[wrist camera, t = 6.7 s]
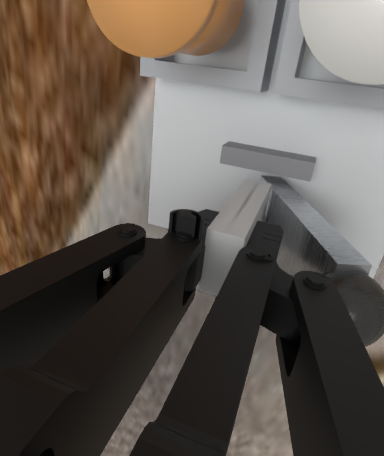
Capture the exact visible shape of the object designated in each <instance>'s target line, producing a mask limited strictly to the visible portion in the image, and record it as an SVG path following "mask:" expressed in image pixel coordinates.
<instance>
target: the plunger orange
mask: <svg viewBox="0 0 384 456" xmlns="http://www.w3.org/2000/svg"><path fill="white" fill-rule="evenodd" d="M244 1H245V0H87V2H88V5H89V8H90V10H91V13H92V15H93V17H94V19H95V21H96V23H97V25H98V26H99V28H100V29H101V31H102V32H103V33H104V35H105V36H106V37H107V38H108V39H109V40H110V41H111V42H112V43H113V44H114V45H116V46H117V47H118V48H120V49H121V50H123V51H125V52H127V53H129V54H132V55H135V56H140V57H147V58H164V57H169V56H172V55H175V54H177V53H182V54H187V55H193V56H202V55H207V54H211V53H213V52H215V51H217V50H219V49H220V48H221V47H223V46H224V45H225V44H226V43H227V42H228V41H229V40H230V39H231V37H232V36H233V35H234V33H235V31H236V30H237V28H238V26H239V23H240V21H241V18H242V14H243V9H244Z"/></svg>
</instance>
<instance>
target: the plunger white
mask: <svg viewBox="0 0 384 456" xmlns="http://www.w3.org/2000/svg"><path fill="white" fill-rule="evenodd" d="M299 15H300V22H301V27H302V31H303V34H304V37H305V40H306V42H307V44H308V46H309V48H310V50H311V52H312V53H313V55H314V56H315V57H316V59H317V60H318V61H319V62H320V63H321V64H322V65H323V66H324V67H325V68H326V69H327V70H329V71H330V72H331V73H333V74H334V75H336V76H338V77H340V78H342V79H345V80H348V81H351V82H355V83H360V84H371V85H380V84H384V0H299Z"/></svg>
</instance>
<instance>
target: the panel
mask: <svg viewBox="0 0 384 456" xmlns="http://www.w3.org/2000/svg"><path fill="white" fill-rule="evenodd" d="M140 76H147V77H154V78H156V84H155V102H154V121H153V139H152V158H151V176H150V195H149V213H148V224H152V225H156V226H159V227H163V228H167V229H169V217H170V212H171V211H173V210H177V209H189V210H194V211H197V212H199V211H202V210H205V209H209V210H213V211H217V212H220V211H221V210H222V209H223V207H224V206H225V205H226V203H227V202H228V201H229V200H230V198H231V197H232V196H233V194H234V193H235V192H236V190H237V189H238V188H239V187H240V185H241V184H242V183H243V181H244V180H245V179H251V180H255V181H260V179H261V175H263V176H275V177H282V178H283V179H284V180H285V181H286V182H287V183H288V184H289V185H290V186H291V187H292V188H293V189H295V190H296V191H297V192H298V193H299V194H300V195H301V196H302V197H303V198H304V199H305V200H306V201H307V202H308V203H309V204H310V205H311V206H312V207H313V208H314V209H315V210H316V211H317V212H318V213H319V214H320V215H321V216H322V217H323V218H324V219H325V220H326V221H327V222H328V223H329V224H330V225H331V226H332V227H333V228H334V229H335V230H336V231H338V232H339V233H340V234H341V235H342V236H343V237H344V238H345V239H346V240H347V241H348V242H349V243H350V244H351V245H352V246H353V247H354V248H355V249H356V250H357V251H358V252H359V253H360V254H361V255H362V256H363V257H364V258H365V259H366V260H367V261H368V262H369V263H370V264H371V265H372V268H371V270H370V273H369V275H368V276H370V277H371V278H374V276H375V274H376V271H377V269H378V267H379V264H380V262H381V260H382V257H383V255H384V84H380V85H371V84H360V83H355V82H351V81H348V80H345V79H342V78H340V77H338V76H336V75H334V74H333V73H331V72H330V71H329V70H327V69H326V68H325V67H324V66H323V65H322V64H321V63H320V62H319V61H318V60H317V59H316V57H315V56H314V55H313V53H312V52H311V50H310V48H309V46H308V44H307V42H306V40H305V37H304V34H303V31H302V27H301V22H300V15H299V0H245V1H244V9H243V14H242V18H241V21H240V23H239V26H238V28H237V30H236V31H235V33H234V35H233V36H232V37H231V39H230V40H229V41H228V42H227V43H226V44H225V45H224V46H223V47H221V48H220V49H219V50H217V51H215V52H213V53H211V54H207V55H202V56H193V55H187V54H182V53H177V54H175V55H172V56H169V57H164V58H147V57H141V63H140Z"/></svg>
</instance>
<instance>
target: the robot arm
mask: <svg viewBox="0 0 384 456" xmlns="http://www.w3.org/2000/svg"><path fill="white" fill-rule="evenodd" d="M271 185H272V184H270V183H265V182H260V181H255V180H251V179H245V180H244V181H243V183H242V184H241V185H240V187H239V188H238V189H237V190H236V192H235V193H234V194H233V196H232V197H231V198H230V200H229V201H228V202H227V203H226V205H225V206H224V207H223V209H222V210H221V211H220V212H217V211H213V210H209V209H205V210H202V211H199V212H197V211H194V210H189V209H177V210H173V211H171V212H170V217H169V229H168V233H167V234H166V235H165V236H164V237H163V238H162V239H154V238H146V231H145V230H144V228H142V227H141V226H138V225H135V224H130V223H126V224H120V225H116V226H114V227H111V228H109V229H107V230H104V231H102V232H100V233H98V234H95V235H93V236H91V237H88V238H86V239H84V240H81V241H79V242H77V243H74V244H72V245H70V246H68V247H65V248H63V249H61V250H58V251H56V252H54V253H51V254H49V255H47V256H45V257H42V258H40V259H38V260H35V261H33V262H31V263H28V264H26V265H24V266H22V267H19V268H17V269H15V270H12V271H10V272H8V273H5V274H3V275H1V276H0V456H100V455H101V453H102V451H103V450H104V448H105V446H106V445H107V443H108V441H109V440H110V438H111V436H112V435H113V433H114V431H115V430H116V428H117V426H118V425H119V423H120V421H121V420H122V418H123V416H124V415H125V413H126V411H127V410H128V408H129V406H130V405H131V403H132V401H133V400H134V398H135V396H136V394H137V393H138V391H139V389H140V388H141V386H142V384H143V383H144V381H145V379H146V378H147V376H148V374H149V373H150V371H151V369H152V368H153V366H154V364H155V363H156V361H157V359H158V358H159V356H160V354H161V353H162V351H163V349H164V348H165V346H166V344H167V343H168V341H169V339H170V338H171V336H172V334H173V333H174V331H175V329H176V328H177V326H178V324H179V323H180V321H181V319H182V317H183V316H184V314H185V312H186V311H187V309H188V307H189V306H190V304H191V302H192V301H193V299H194V296H195V289H196V286H197V284H198V282H199V281H200V283H199V290H198V291H200V292H203V293H207V294H210V295H213V296H216V299H215V301H214V303H213V305H212V307H211V309H210V311H209V313H208V315H207V317H206V320H205V322H204V324H203V326H202V328H201V330H200V332H199V334H198V336H197V338H196V340H195V342H194V344H193V346H192V348H191V350H190V352H189V354H188V356H187V358H186V360H185V363H184V365H183V367H182V369H181V371H180V373H179V375H178V377H177V379H176V381H175V383H174V385H173V387H172V389H171V391H170V393H169V395H168V397H167V399H166V401H165V403H164V406H163V408H162V410H161V412H160V414H159V415H158V417H157V419H156V420H155V421H154V422H149V423H148V424H147V425H146V427H145V428H144V430H143V431H142V433H141V435H140V437H139V438H138V440H137V442H136V444H135V446H134V448H133V450H132V452H131V454H130V456H226V454H227V450H228V446H229V442H230V438H231V434H232V431H233V427H234V423H235V419H236V415H237V411H238V408H239V404H240V400H241V396H242V392H243V388H244V385H245V381H246V377H247V373H248V369H249V365H250V361H251V358H252V354H253V350H254V346H255V342H256V338H257V335H258V331H259V327H260V325H262V326H263V327H265V328H267V329H268V330H270V331H272V332H273V333H275V334H277V336H276V346H277V352H278V359H279V365H280V371H281V378H282V384H283V391H284V397H285V404H286V410H287V417H288V423H289V430H290V436H291V442H292V449H293V455H294V456H384V387H383V385H382V383H381V380H380V378H379V376H378V374H377V372H376V370H375V368H374V365H373V363H372V361H371V359H370V357H369V355H368V353H367V350H366V348H365V346H364V344H363V342H362V340H361V338H360V335H359V333H358V331H357V329H356V327H355V325H354V323H353V320H352V318H351V316H350V314H349V312H348V310H347V308H346V305H345V303H344V301H343V299H342V297H341V295H340V293H339V290H338V288H337V286H336V285H335V283H334V282H333V281H332V280H331V279H329V278H328V277H327V276H325V275H323V274H321V273H318V272H313V271H300V272H297V273H296V274H295V275H294V276H292V275H290V274H288V273H286V272H285V271H283V270H282V269H281V268H280V267H279V266H278V264H277V257H278V253H279V249H280V245H281V241H282V237H283V233H284V231H283V229H282V228H281V226H279V225H275V224H271V223H267V222H263V221H264V217H265V212H266V208H267V203H268V199H269V194H270V190H271ZM109 267H110V276H109V277H107V278H105V279H104V278H103V271H104V270H105V269H107V268H109Z"/></svg>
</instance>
